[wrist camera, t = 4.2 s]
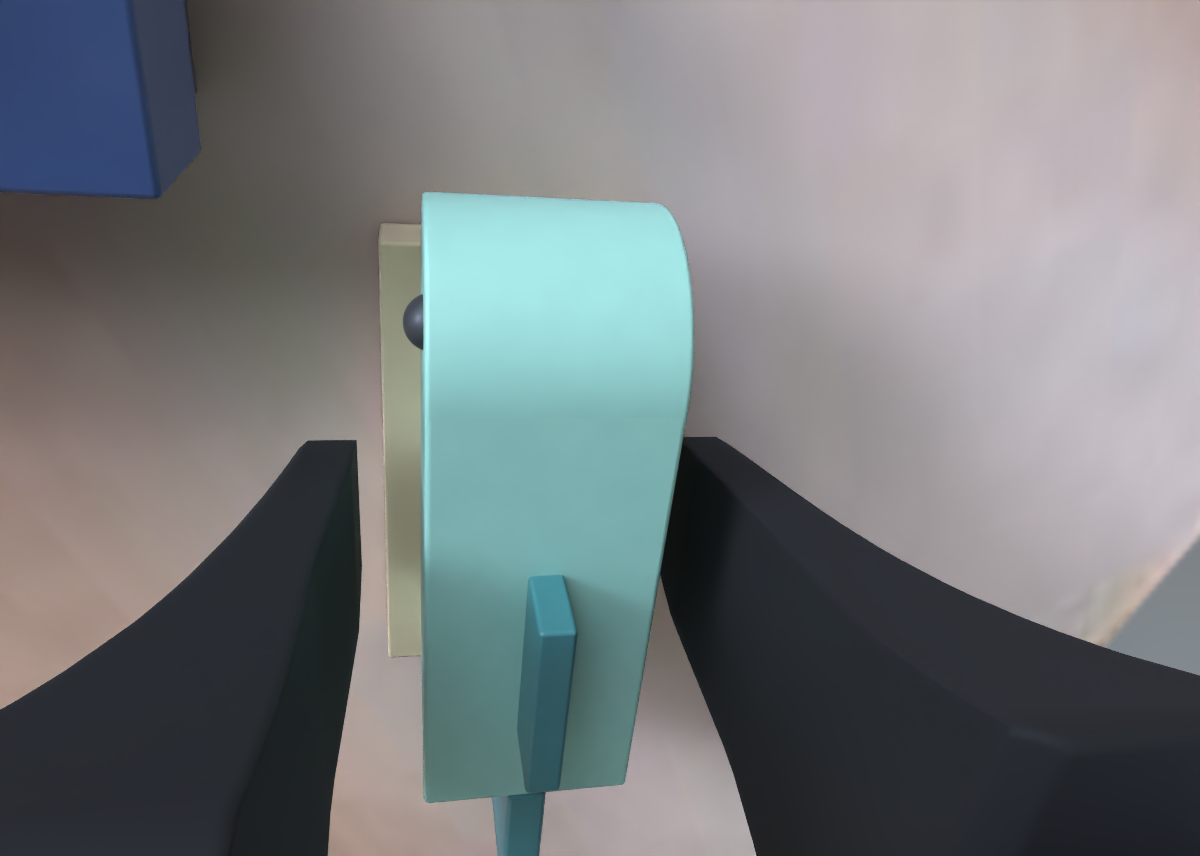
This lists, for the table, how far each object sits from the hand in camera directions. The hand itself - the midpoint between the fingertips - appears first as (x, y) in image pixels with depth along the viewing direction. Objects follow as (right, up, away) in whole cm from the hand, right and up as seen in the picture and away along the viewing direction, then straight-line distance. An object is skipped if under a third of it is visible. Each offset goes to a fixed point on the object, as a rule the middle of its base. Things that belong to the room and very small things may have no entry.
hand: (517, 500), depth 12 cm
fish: (0, +1, +1) cm, 1 cm away
